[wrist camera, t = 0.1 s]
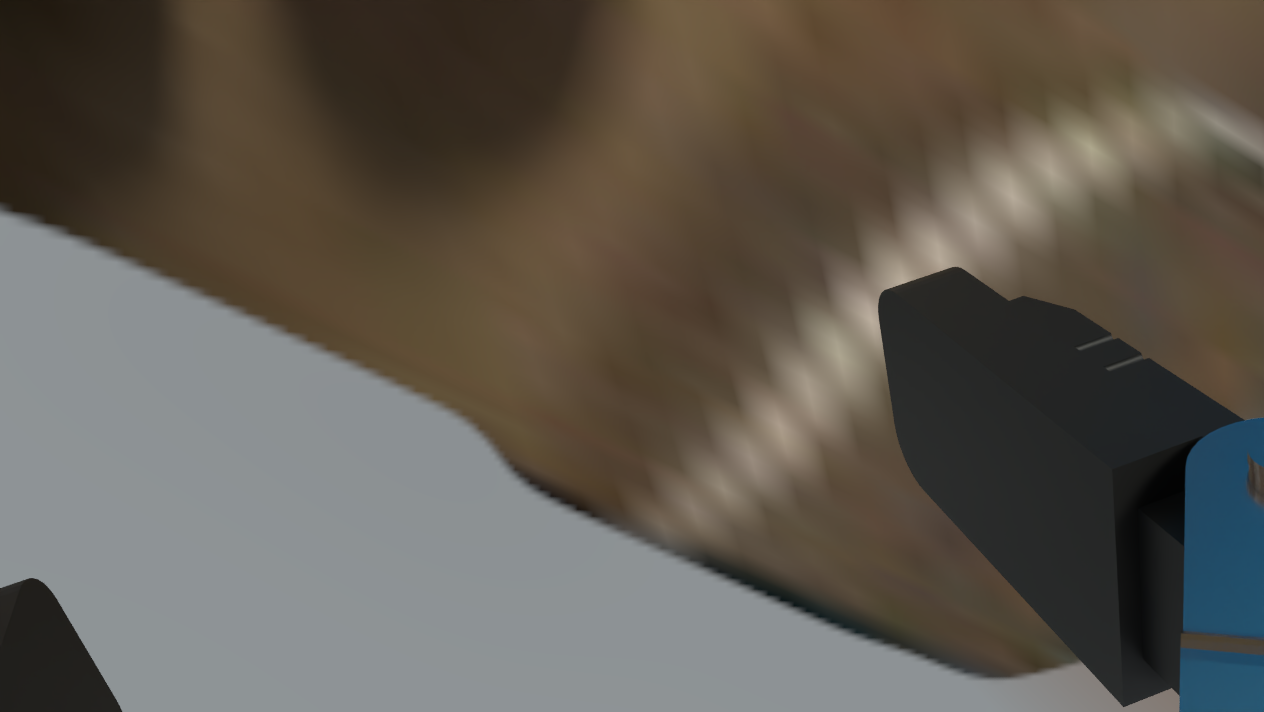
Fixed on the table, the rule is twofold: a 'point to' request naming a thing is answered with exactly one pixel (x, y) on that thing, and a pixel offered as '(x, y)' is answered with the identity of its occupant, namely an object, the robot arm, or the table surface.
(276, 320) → the table surface
